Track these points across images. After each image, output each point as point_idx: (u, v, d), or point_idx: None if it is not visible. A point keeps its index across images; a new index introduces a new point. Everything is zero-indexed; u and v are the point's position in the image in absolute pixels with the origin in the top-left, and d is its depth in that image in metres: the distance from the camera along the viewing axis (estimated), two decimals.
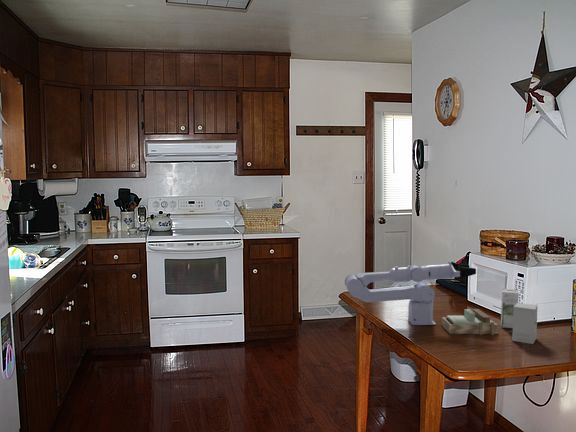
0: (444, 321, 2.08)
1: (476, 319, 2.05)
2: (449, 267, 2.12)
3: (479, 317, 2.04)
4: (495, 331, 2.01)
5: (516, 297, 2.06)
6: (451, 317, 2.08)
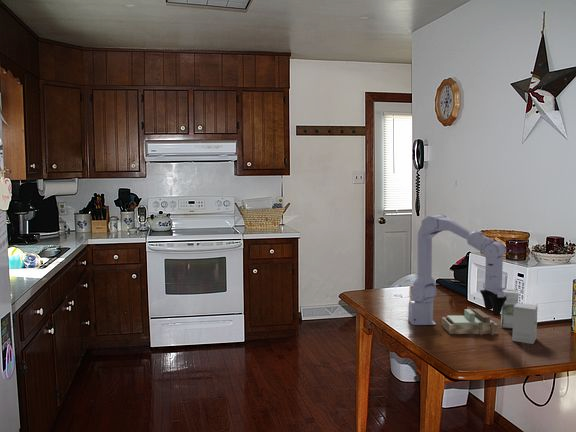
0: (444, 321, 2.08)
1: (476, 319, 2.05)
2: (500, 287, 1.91)
3: (479, 317, 2.04)
4: (495, 331, 2.01)
5: (516, 297, 2.06)
6: (451, 317, 2.08)
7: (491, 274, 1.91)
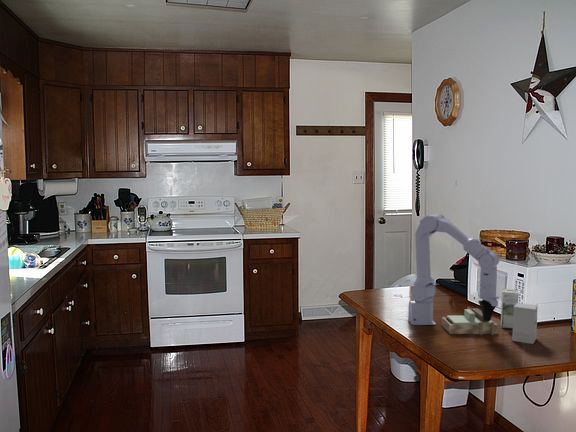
0: (444, 321, 2.08)
1: (476, 319, 2.05)
2: (495, 296, 1.97)
3: (478, 316, 2.05)
4: (495, 331, 2.01)
5: (516, 297, 2.06)
6: (451, 317, 2.08)
7: (487, 283, 1.96)
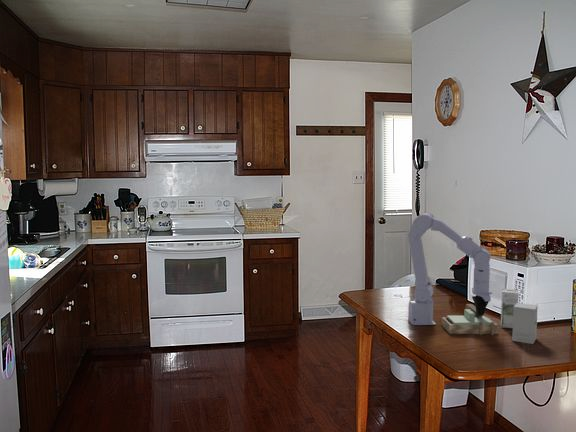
0: (444, 321, 2.08)
1: (476, 319, 2.05)
2: (487, 291, 2.03)
3: None
4: (495, 331, 2.01)
5: (516, 297, 2.06)
6: (451, 317, 2.08)
7: (482, 280, 2.02)
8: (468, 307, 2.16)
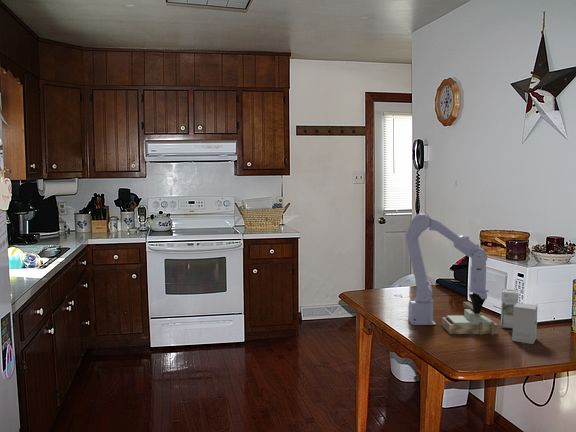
0: (444, 321, 2.08)
1: (476, 319, 2.05)
2: (484, 289, 2.07)
3: None
4: (495, 331, 2.01)
5: (516, 297, 2.06)
6: (451, 317, 2.08)
7: (480, 278, 2.06)
8: (465, 305, 2.20)
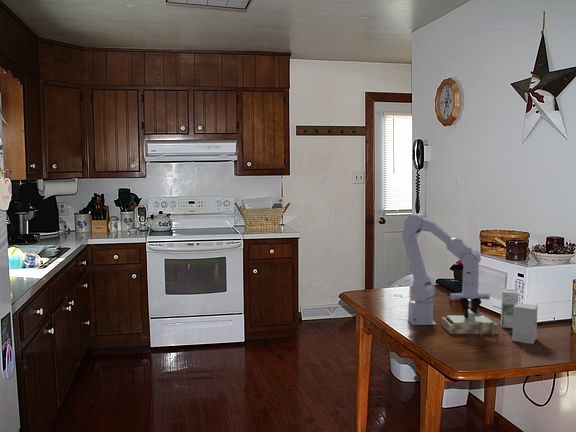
0: (444, 321, 2.08)
1: (476, 319, 2.05)
2: (466, 293, 2.03)
3: None
4: (495, 331, 2.01)
5: (516, 297, 2.06)
6: (451, 317, 2.08)
7: (469, 282, 2.02)
8: None
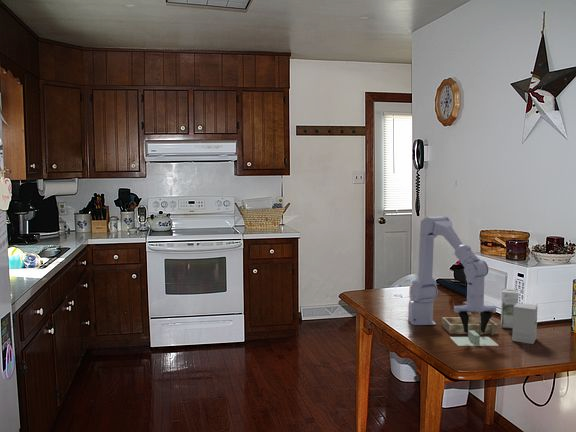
0: (444, 321, 2.08)
1: (481, 341, 1.92)
2: (470, 306, 1.89)
3: None
4: (495, 331, 2.01)
5: (516, 297, 2.06)
6: (454, 339, 1.94)
7: (470, 293, 1.89)
8: None
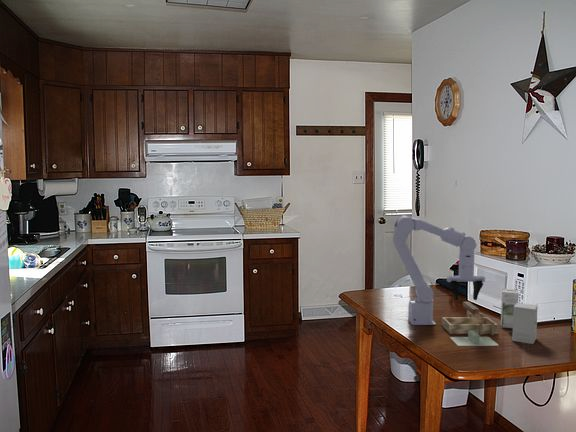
0: (444, 321, 2.08)
1: (481, 341, 1.92)
2: (462, 276, 2.10)
3: (469, 309, 2.15)
4: (495, 331, 2.01)
5: (516, 297, 2.06)
6: (454, 339, 1.94)
7: (469, 265, 2.09)
8: (465, 305, 2.20)
